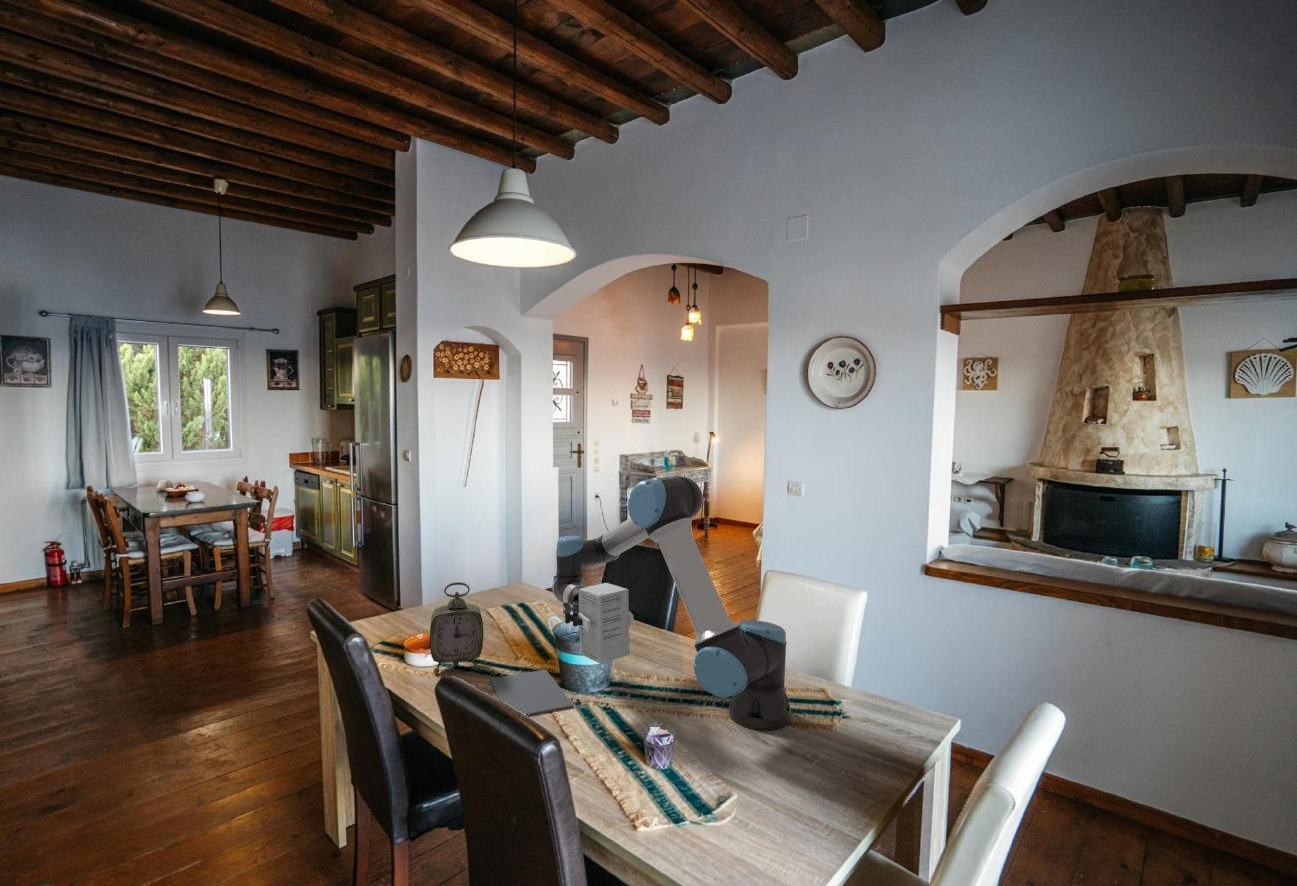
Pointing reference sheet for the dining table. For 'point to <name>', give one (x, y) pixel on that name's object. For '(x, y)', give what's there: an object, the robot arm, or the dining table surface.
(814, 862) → the dining table surface
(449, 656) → the tabletop clock
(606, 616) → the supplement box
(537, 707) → the mat
